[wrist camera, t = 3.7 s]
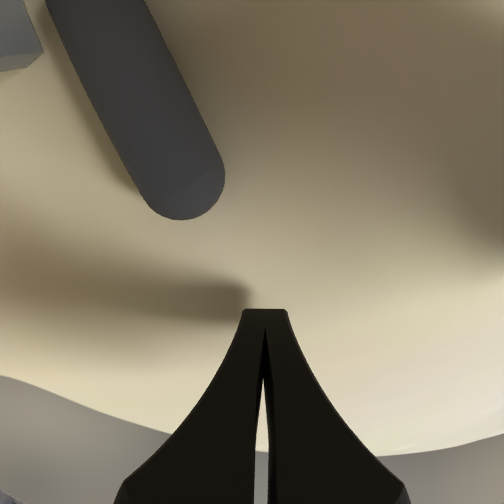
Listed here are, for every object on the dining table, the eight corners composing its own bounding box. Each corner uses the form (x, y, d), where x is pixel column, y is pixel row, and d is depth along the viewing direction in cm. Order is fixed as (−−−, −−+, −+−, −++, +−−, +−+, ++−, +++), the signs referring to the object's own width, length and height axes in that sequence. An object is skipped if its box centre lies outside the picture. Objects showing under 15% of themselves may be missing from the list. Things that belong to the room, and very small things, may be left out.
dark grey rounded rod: (241, 182, 9) (235, 217, 7) (175, 209, 10) (154, 248, 8) (126, -54, 5) (90, -77, 3) (63, -12, 6) (19, -20, 4)
